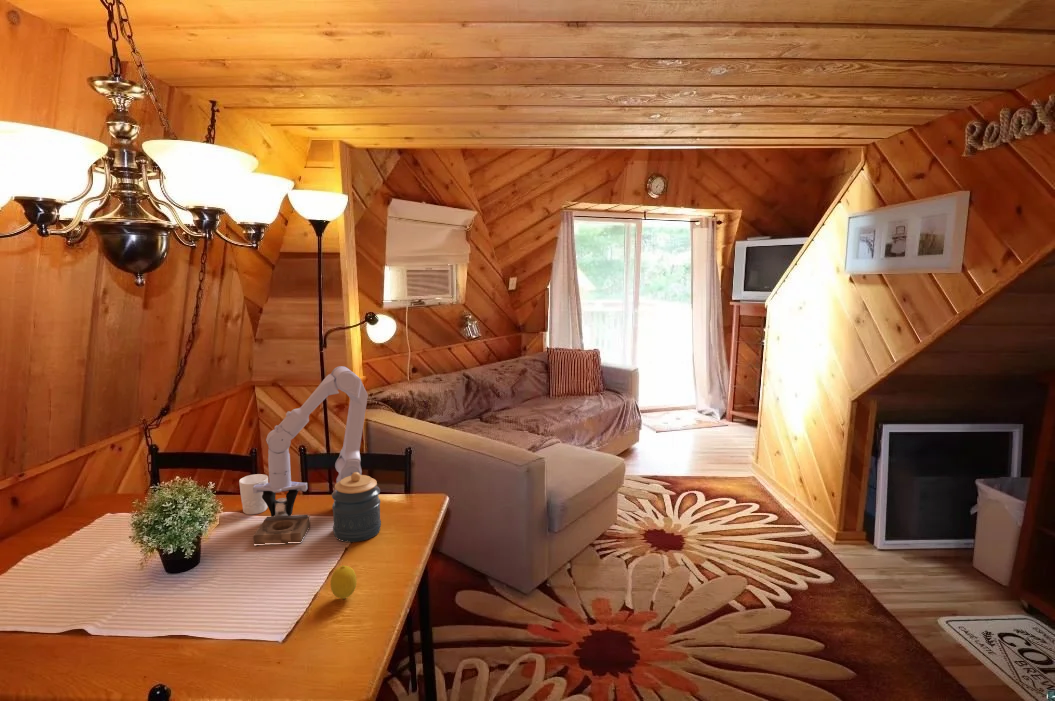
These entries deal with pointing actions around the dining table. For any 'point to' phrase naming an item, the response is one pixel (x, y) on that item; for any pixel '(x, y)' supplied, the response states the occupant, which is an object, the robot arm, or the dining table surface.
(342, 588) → the lemon
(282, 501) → the bushing
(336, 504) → the canister
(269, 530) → the block
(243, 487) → the white cup
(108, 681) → the dining table surface
